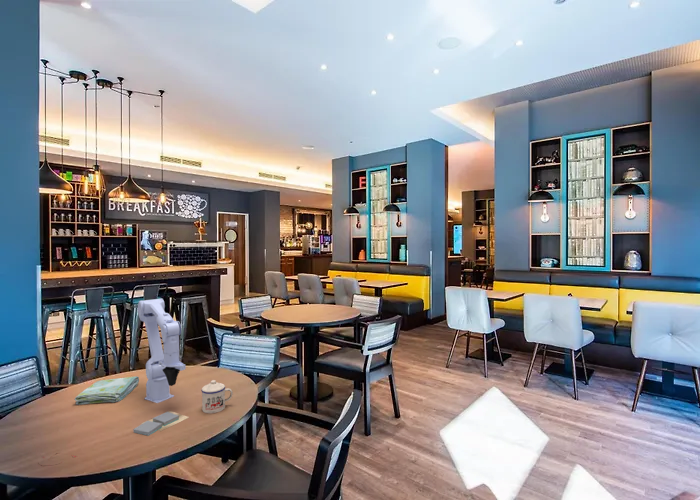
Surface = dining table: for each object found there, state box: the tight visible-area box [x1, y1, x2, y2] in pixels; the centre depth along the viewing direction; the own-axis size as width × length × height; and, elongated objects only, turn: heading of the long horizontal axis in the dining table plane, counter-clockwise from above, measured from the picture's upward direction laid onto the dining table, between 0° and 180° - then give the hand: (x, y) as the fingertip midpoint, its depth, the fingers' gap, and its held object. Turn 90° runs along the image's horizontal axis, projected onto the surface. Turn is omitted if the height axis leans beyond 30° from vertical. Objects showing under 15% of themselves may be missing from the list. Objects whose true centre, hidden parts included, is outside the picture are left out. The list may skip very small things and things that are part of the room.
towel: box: [74, 376, 140, 406], centre depth 167 cm, size 18×21×5 cm
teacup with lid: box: [200, 379, 234, 414], centre depth 151 cm, size 12×9×12 cm
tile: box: [152, 411, 179, 426], centre depth 141 cm, size 1×6×7 cm
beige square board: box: [140, 410, 190, 432], centre depth 141 cm, size 12×12×1 cm
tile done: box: [132, 420, 162, 437], centre depth 134 cm, size 7×6×1 cm
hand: (172, 384), depth 151 cm, fingers closed
